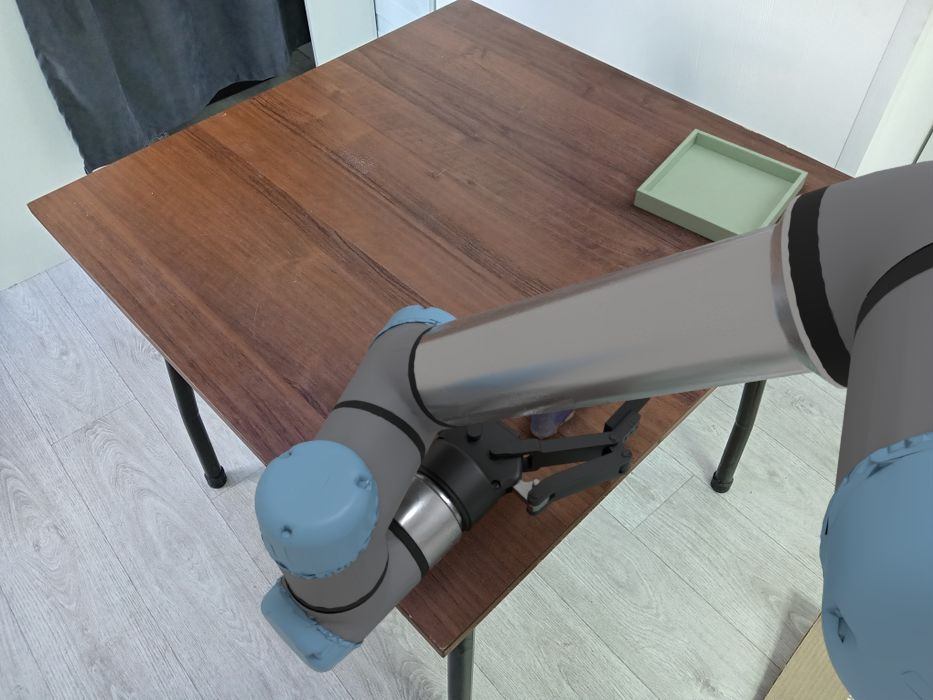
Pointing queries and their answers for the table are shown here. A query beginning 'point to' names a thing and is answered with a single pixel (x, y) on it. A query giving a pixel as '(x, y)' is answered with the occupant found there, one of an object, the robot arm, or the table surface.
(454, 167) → the table surface
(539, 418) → the flask
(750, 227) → the tray
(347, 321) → the table surface
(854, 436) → the robot arm
